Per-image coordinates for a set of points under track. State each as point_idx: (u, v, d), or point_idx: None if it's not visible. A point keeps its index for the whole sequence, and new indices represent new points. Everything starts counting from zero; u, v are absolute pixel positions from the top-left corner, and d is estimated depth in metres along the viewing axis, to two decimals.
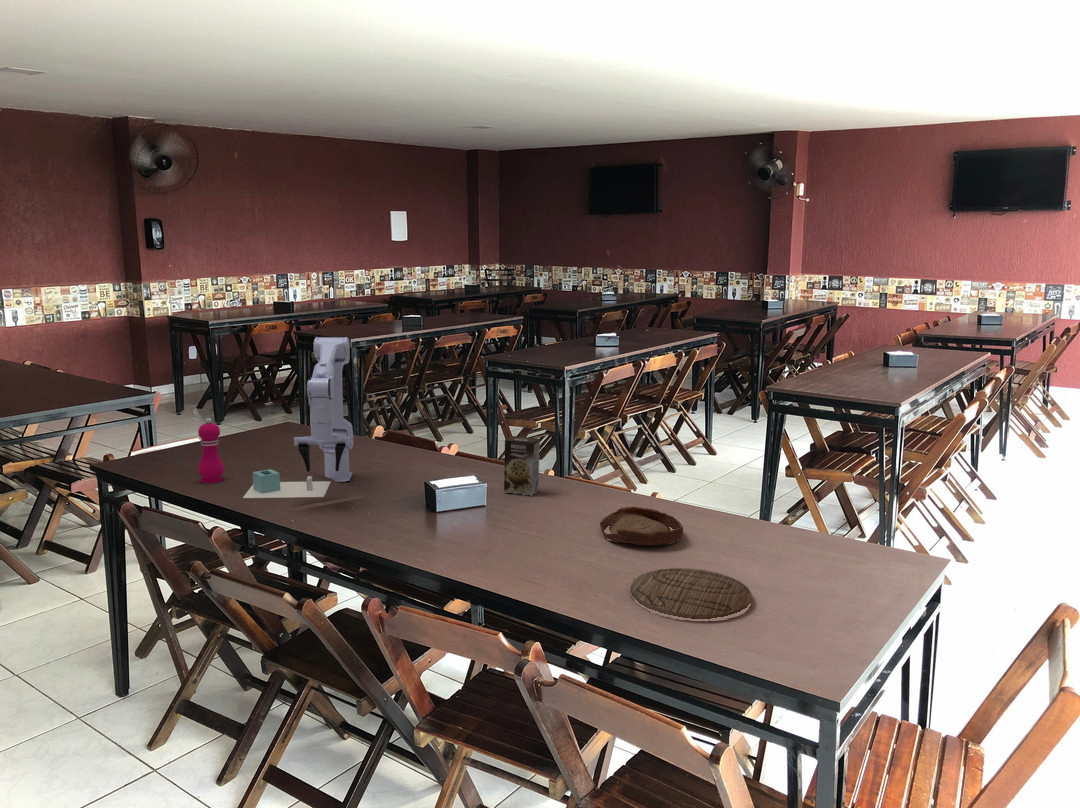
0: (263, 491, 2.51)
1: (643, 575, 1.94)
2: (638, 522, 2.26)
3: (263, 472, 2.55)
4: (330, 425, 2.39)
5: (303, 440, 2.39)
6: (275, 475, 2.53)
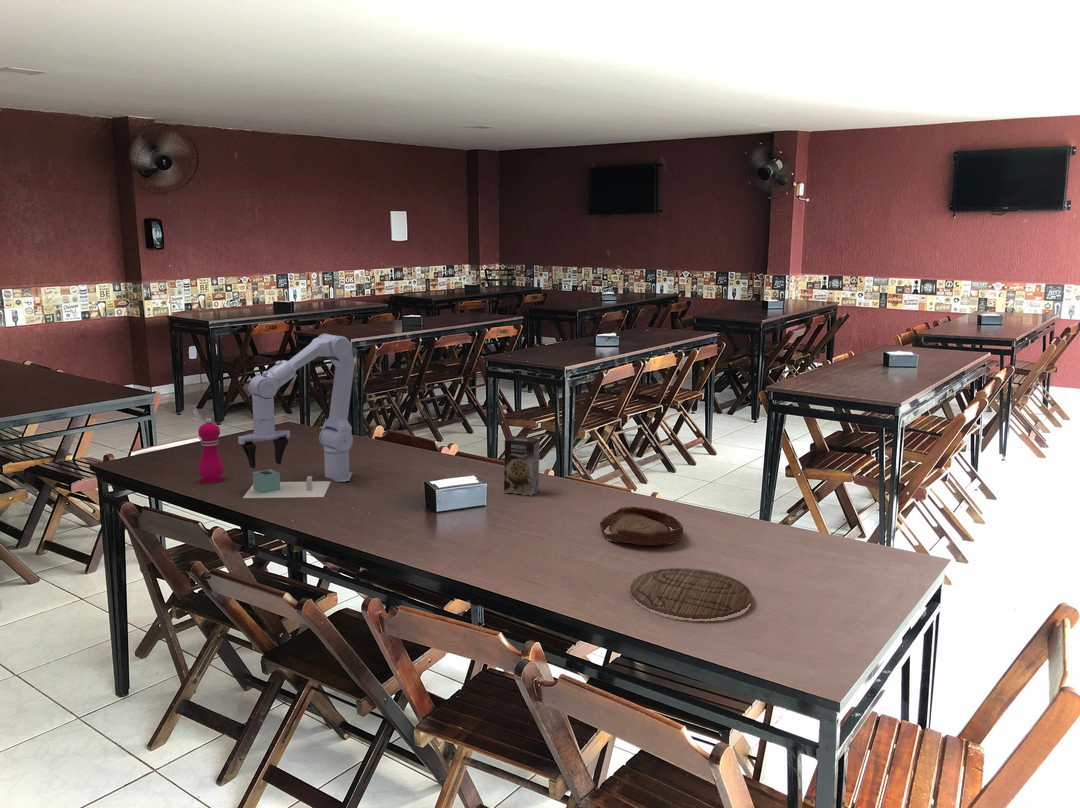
0: (263, 491, 2.51)
1: (643, 575, 1.94)
2: (638, 522, 2.26)
3: (263, 472, 2.55)
4: None
5: (250, 438, 2.47)
6: (275, 475, 2.53)
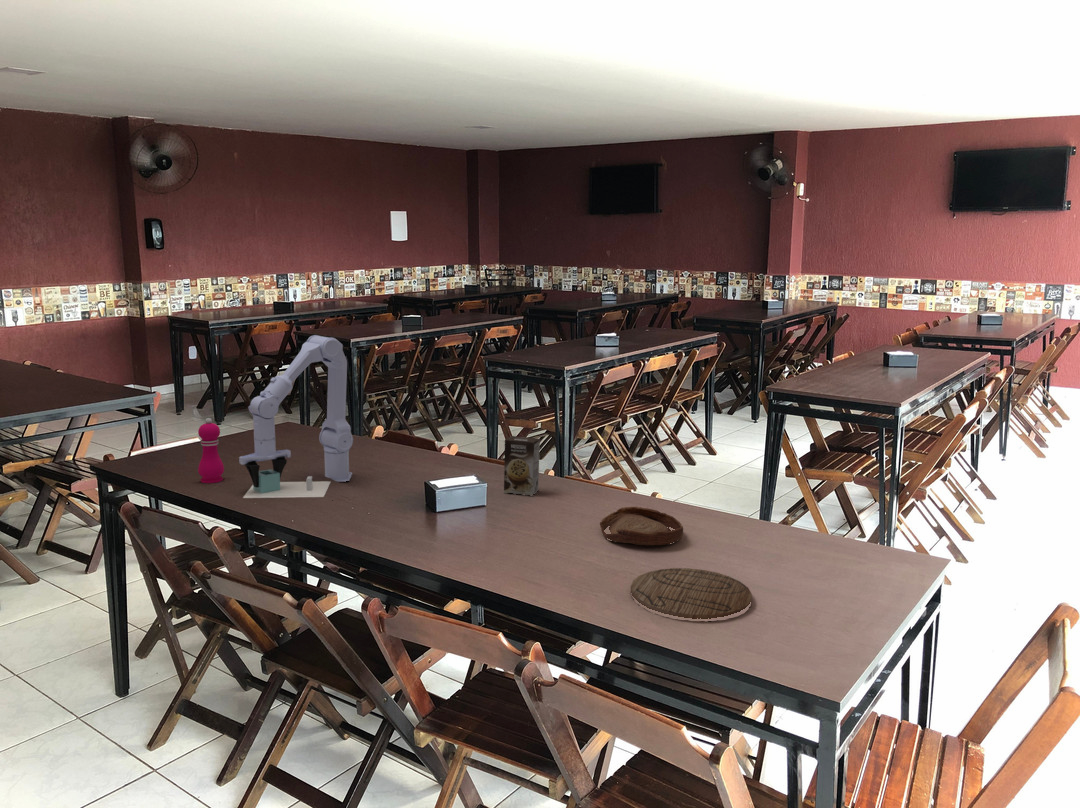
0: (263, 491, 2.51)
1: (643, 575, 1.94)
2: (638, 522, 2.26)
3: (263, 472, 2.55)
4: None
5: (251, 458, 2.49)
6: (275, 475, 2.53)
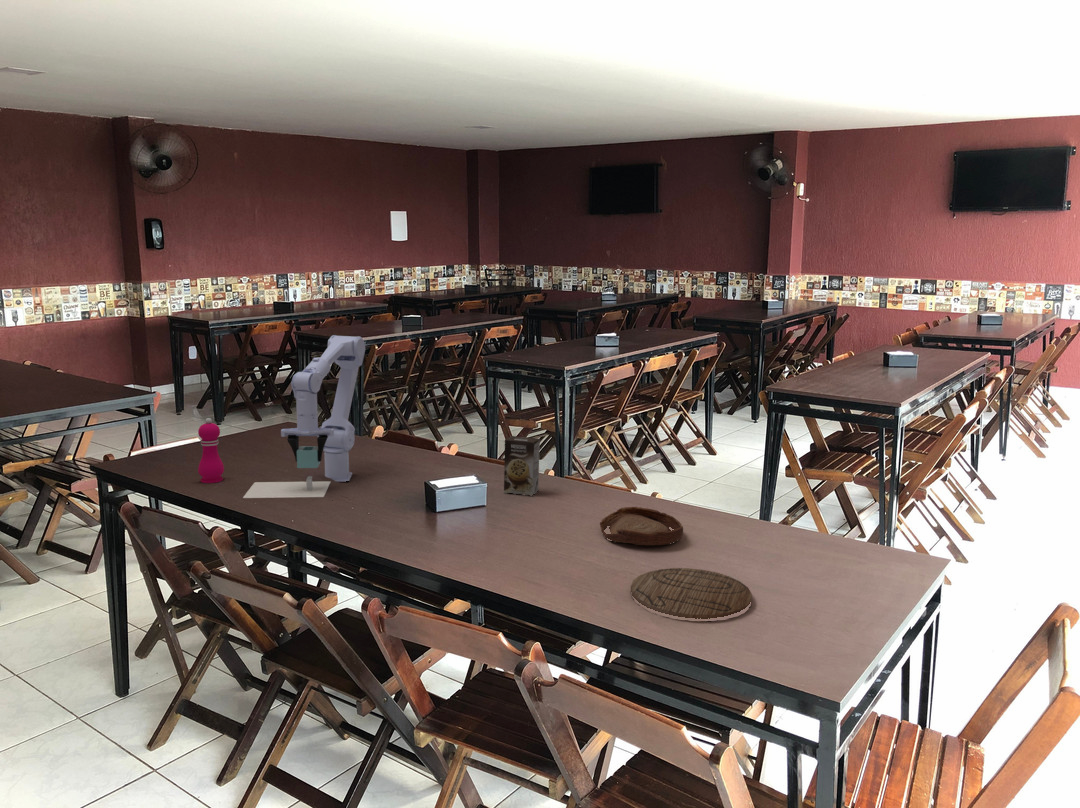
0: (299, 466, 2.51)
1: (643, 575, 1.94)
2: (638, 522, 2.26)
3: (309, 448, 2.56)
4: (315, 417, 2.51)
5: (289, 431, 2.51)
6: (312, 452, 2.51)
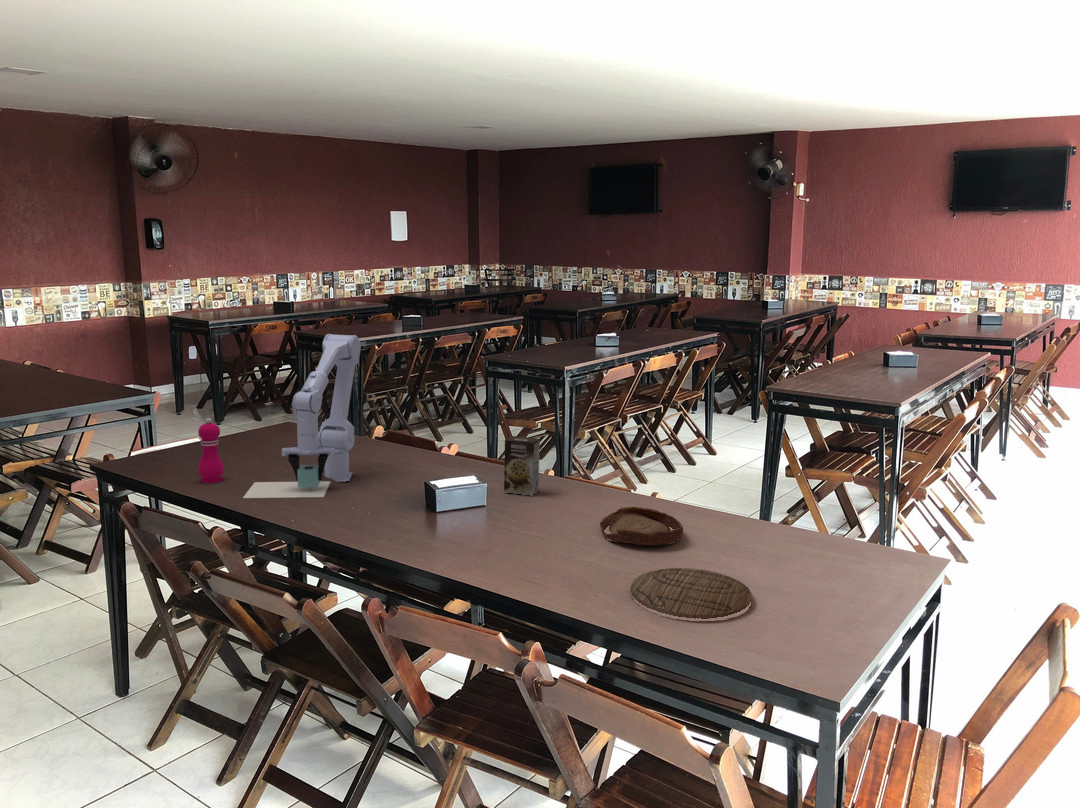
0: (299, 485, 2.52)
1: (643, 575, 1.94)
2: (638, 522, 2.26)
3: (310, 467, 2.57)
4: (316, 437, 2.52)
5: (290, 451, 2.52)
6: (312, 471, 2.52)
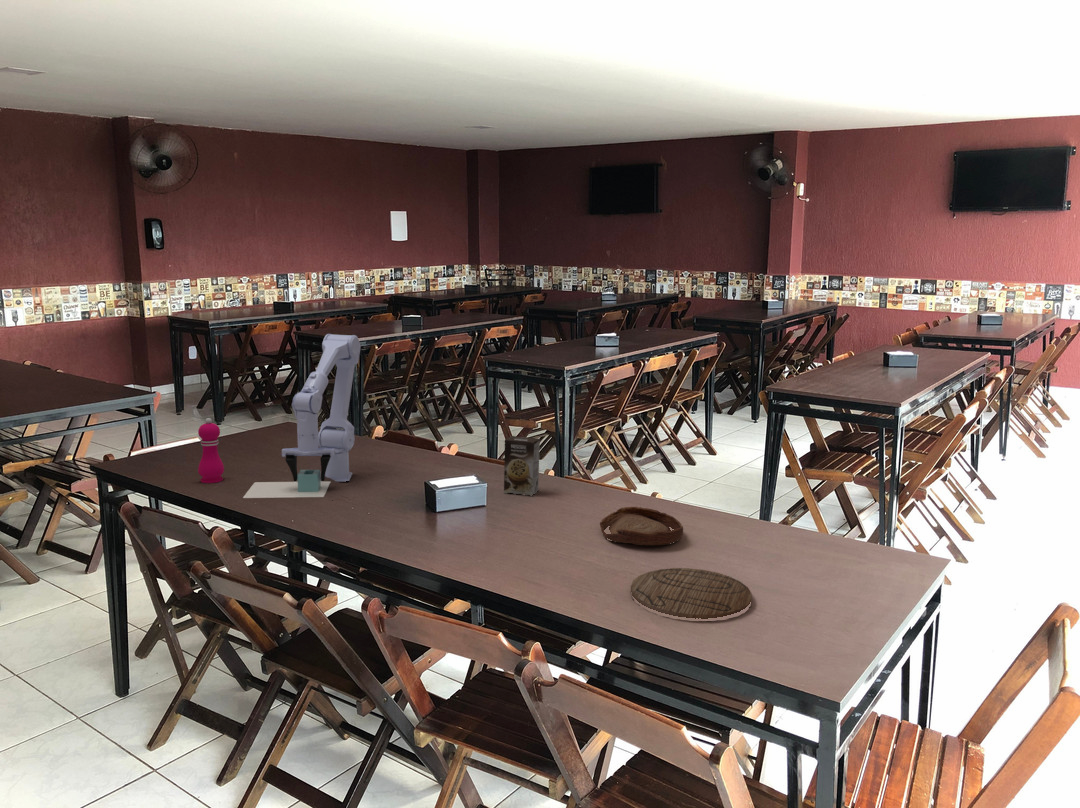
0: (300, 490, 2.53)
1: (643, 575, 1.94)
2: (638, 522, 2.26)
3: (310, 471, 2.57)
4: (316, 437, 2.52)
5: (290, 451, 2.52)
6: (313, 476, 2.52)
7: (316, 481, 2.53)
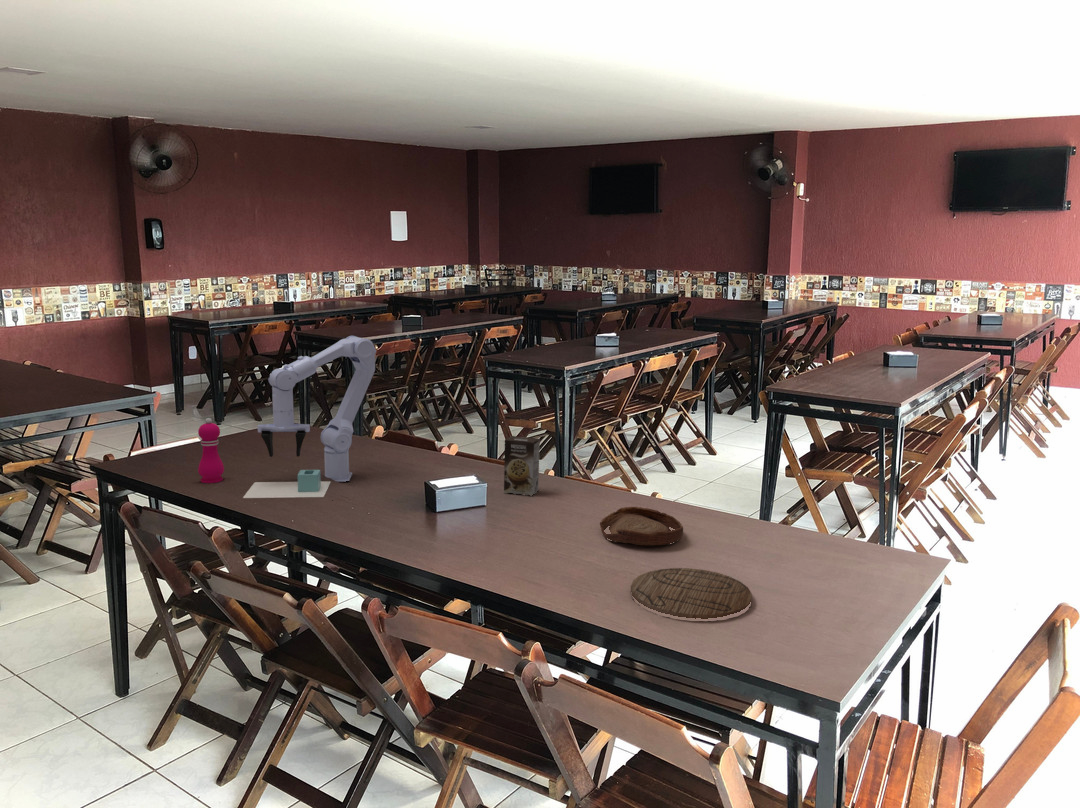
0: (300, 490, 2.53)
1: (643, 575, 1.94)
2: (638, 522, 2.26)
3: (310, 471, 2.57)
4: (291, 413, 2.57)
5: (266, 427, 2.56)
6: (313, 476, 2.52)
7: (316, 481, 2.53)
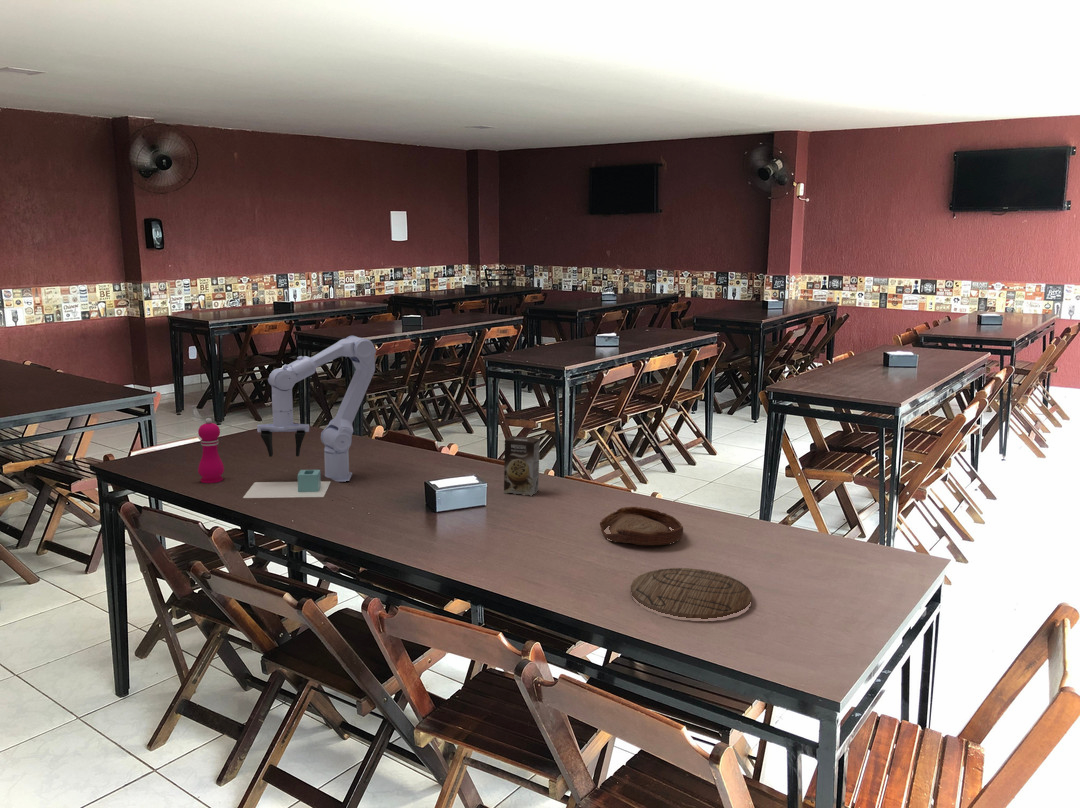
0: (300, 490, 2.53)
1: (643, 575, 1.94)
2: (638, 522, 2.26)
3: (310, 471, 2.57)
4: (290, 413, 2.57)
5: (265, 427, 2.57)
6: (313, 476, 2.52)
7: (316, 481, 2.53)
